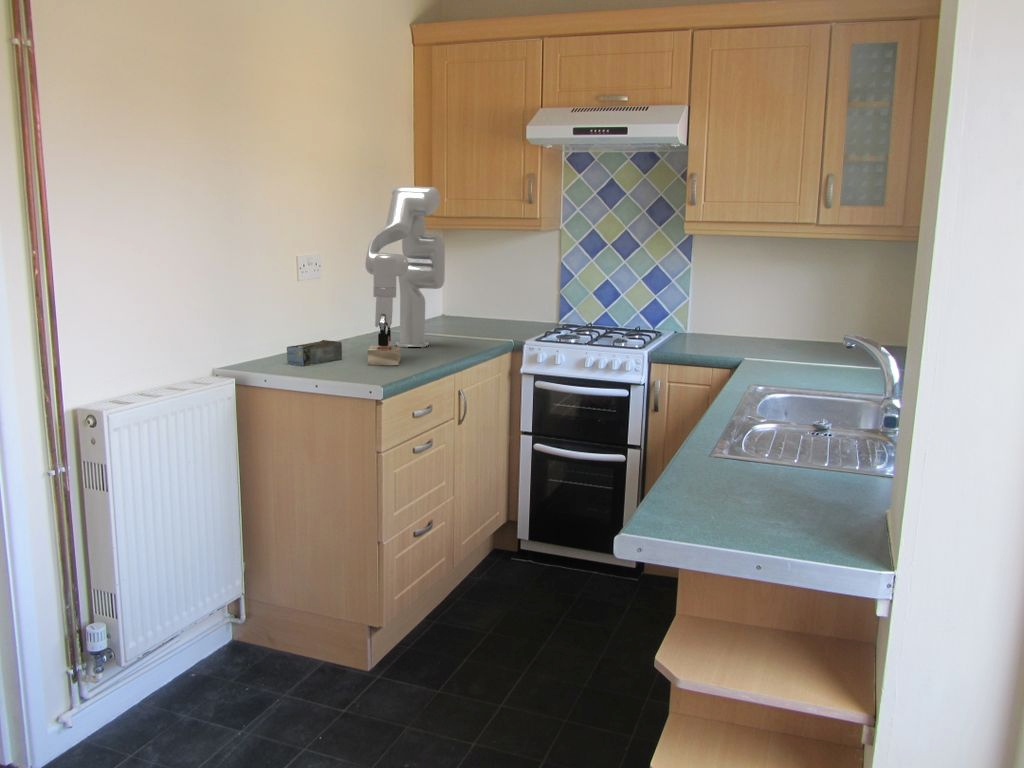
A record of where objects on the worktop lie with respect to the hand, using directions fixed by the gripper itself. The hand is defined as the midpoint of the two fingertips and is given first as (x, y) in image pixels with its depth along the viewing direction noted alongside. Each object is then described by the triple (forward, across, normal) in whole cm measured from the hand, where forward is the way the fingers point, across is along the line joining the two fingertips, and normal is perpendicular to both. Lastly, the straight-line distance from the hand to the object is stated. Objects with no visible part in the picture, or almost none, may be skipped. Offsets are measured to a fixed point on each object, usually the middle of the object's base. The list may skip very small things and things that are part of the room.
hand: (384, 343), depth 289 cm
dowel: (+7, 0, 0) cm, 7 cm away
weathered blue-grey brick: (+7, 0, -23) cm, 24 cm away
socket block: (+7, 0, 0) cm, 7 cm away
